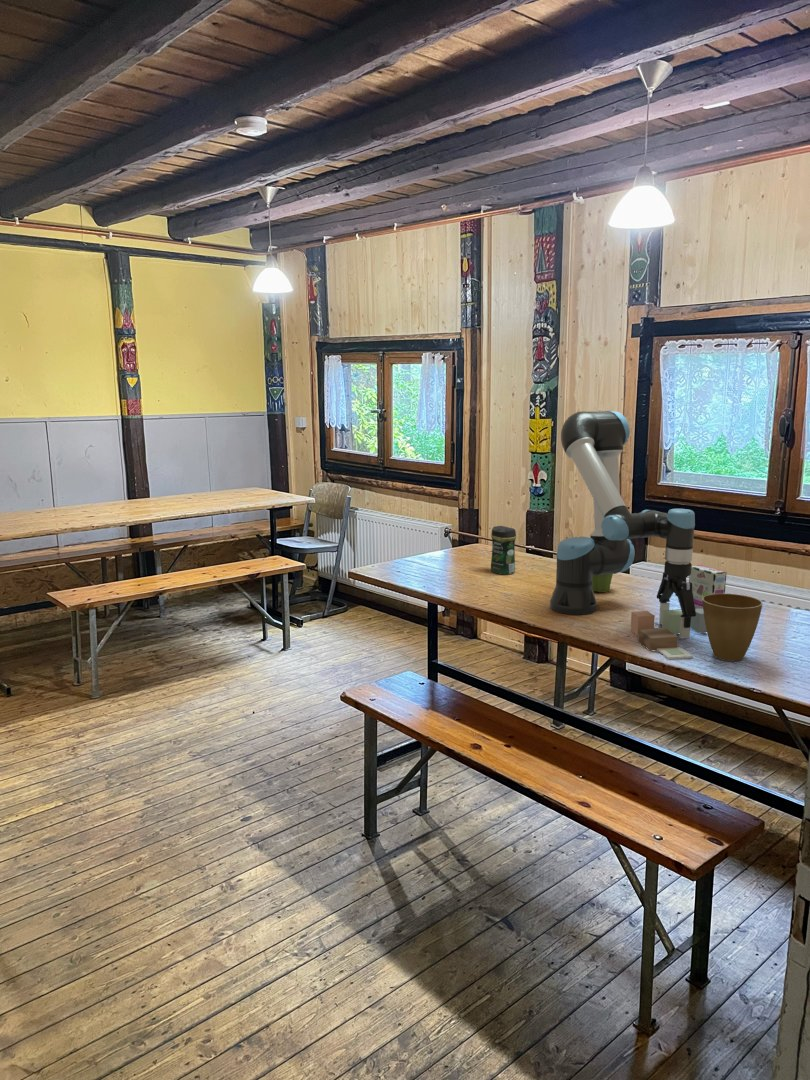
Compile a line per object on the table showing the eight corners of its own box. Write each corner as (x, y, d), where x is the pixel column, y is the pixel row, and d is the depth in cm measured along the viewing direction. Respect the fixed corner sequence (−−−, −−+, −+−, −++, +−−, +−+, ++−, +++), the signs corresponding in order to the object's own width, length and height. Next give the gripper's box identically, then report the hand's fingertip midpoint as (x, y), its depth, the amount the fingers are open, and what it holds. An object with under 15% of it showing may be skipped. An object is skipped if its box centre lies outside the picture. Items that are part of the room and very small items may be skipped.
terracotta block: (630, 630, 228) (631, 611, 226) (646, 629, 228) (647, 610, 227) (637, 635, 223) (638, 616, 222) (653, 635, 223) (654, 615, 222)
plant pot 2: (756, 651, 209) (761, 595, 206) (758, 669, 195) (763, 610, 192) (699, 644, 215) (703, 590, 211) (696, 661, 201) (701, 604, 198)
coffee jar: (487, 571, 301) (487, 525, 298) (502, 568, 306) (502, 523, 302) (503, 576, 294) (504, 529, 290) (518, 573, 298) (519, 527, 294)
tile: (656, 650, 210) (656, 647, 210) (680, 649, 211) (680, 646, 211) (668, 659, 203) (668, 656, 203) (692, 658, 204) (693, 655, 204)
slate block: (690, 627, 230) (691, 608, 228) (705, 627, 230) (707, 608, 229) (698, 633, 225) (699, 613, 224) (714, 632, 225) (715, 613, 224)
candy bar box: (723, 623, 234) (727, 571, 230) (710, 625, 232) (714, 573, 229) (698, 613, 244) (701, 564, 241) (685, 615, 242) (689, 565, 239)
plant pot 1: (601, 596, 265) (602, 565, 262) (575, 589, 274) (576, 559, 272) (623, 590, 271) (624, 560, 269) (597, 584, 281) (598, 554, 279)
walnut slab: (637, 642, 218) (638, 629, 217) (663, 641, 219) (664, 627, 218) (650, 651, 210) (651, 638, 209) (677, 650, 211) (678, 636, 210)
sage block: (662, 629, 229) (663, 610, 228) (677, 628, 229) (679, 609, 228) (669, 634, 224) (670, 615, 223) (685, 633, 224) (686, 614, 223)
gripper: (712, 571, 211) (706, 643, 215) (671, 552, 235) (666, 617, 239) (686, 572, 210) (681, 644, 214) (648, 552, 234) (644, 618, 238)
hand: (673, 630), depth 226 cm, fingers open, 13 cm apart
